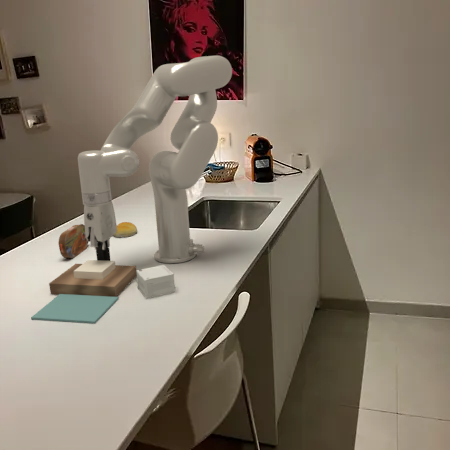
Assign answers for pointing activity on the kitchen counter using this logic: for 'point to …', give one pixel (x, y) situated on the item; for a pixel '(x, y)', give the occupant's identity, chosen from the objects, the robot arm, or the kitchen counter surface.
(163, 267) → the small box
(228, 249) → the kitchen counter surface
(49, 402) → the kitchen counter surface
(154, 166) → the robot arm
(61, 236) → the tin
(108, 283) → the board
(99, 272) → the tile
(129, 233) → the bread roll
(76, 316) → the mat
